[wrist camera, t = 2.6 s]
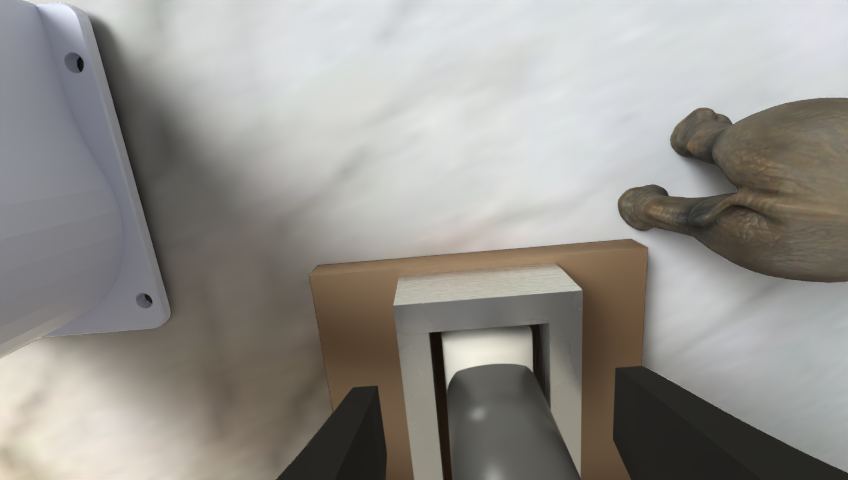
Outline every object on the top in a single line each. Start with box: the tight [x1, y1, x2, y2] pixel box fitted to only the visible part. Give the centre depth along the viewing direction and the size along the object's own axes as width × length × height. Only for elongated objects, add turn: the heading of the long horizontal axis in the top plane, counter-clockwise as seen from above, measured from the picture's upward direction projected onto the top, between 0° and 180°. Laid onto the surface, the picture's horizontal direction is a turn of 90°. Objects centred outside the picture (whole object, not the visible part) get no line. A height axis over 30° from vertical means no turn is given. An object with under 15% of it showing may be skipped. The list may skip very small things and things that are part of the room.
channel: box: [393, 262, 583, 480], centre depth 12 cm, size 9×5×2 cm, turn 5°
